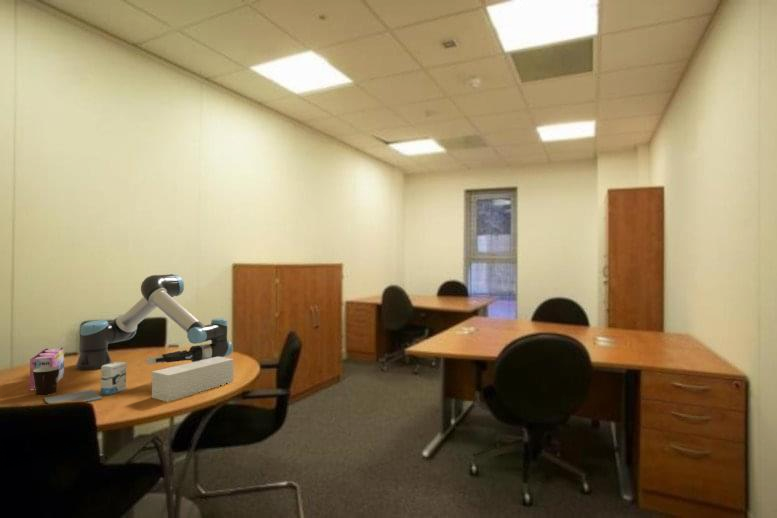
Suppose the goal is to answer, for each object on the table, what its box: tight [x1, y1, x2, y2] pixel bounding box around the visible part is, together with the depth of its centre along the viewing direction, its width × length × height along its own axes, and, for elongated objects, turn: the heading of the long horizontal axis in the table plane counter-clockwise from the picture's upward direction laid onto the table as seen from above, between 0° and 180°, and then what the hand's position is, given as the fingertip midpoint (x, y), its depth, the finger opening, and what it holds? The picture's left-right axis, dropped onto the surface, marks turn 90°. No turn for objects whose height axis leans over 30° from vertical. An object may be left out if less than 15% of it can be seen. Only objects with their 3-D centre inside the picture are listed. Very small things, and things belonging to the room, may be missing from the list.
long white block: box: [151, 357, 235, 403], centre depth 183 cm, size 32×11×11 cm, turn 151°
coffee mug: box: [33, 367, 60, 396], centre depth 174 cm, size 12×9×10 cm
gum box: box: [29, 347, 65, 391], centre depth 191 cm, size 24×8×14 cm, turn 27°
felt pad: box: [43, 388, 103, 403], centre depth 168 cm, size 16×16×1 cm
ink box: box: [100, 361, 127, 396], centre depth 179 cm, size 8×5×12 cm, turn 168°
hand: (147, 361), depth 188 cm, fingers closed
